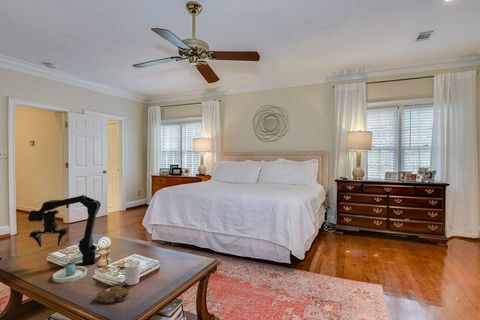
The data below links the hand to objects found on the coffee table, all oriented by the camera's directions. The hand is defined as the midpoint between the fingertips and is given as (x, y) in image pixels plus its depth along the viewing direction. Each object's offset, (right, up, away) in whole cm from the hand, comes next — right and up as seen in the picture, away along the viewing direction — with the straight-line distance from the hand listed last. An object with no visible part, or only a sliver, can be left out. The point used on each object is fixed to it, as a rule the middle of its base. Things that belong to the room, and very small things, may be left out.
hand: (49, 246), depth 160 cm
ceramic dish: (+21, -13, -13) cm, 28 cm away
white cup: (+59, -13, -19) cm, 64 cm away
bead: (+21, -12, -13) cm, 27 cm away
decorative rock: (+56, -14, -35) cm, 68 cm away
